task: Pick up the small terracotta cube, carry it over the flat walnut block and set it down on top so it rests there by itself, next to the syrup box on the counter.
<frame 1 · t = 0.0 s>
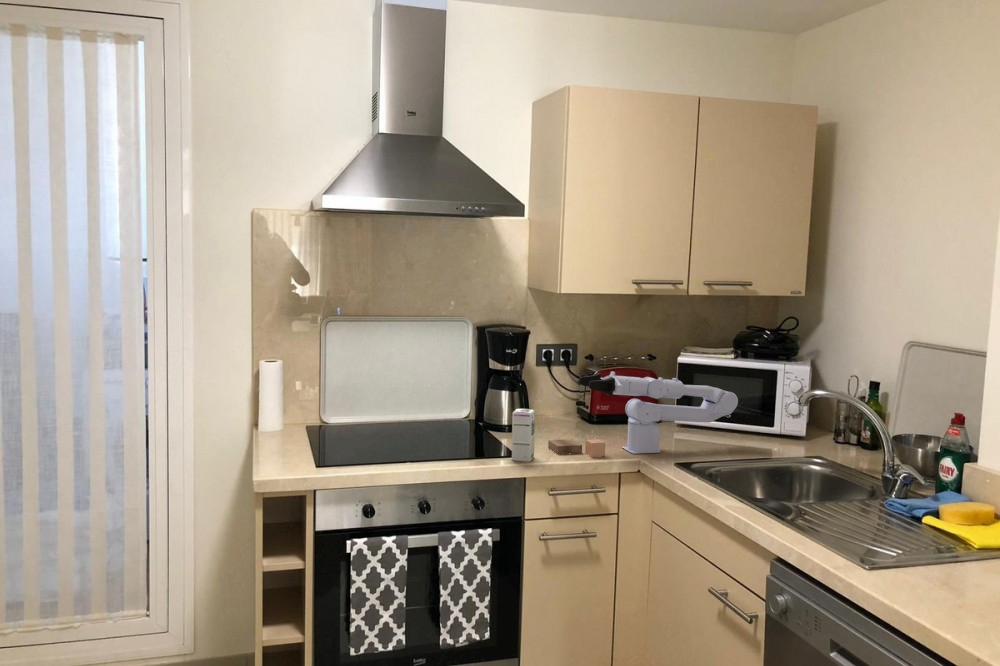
hand: (584, 382, 251), 22 cm above the worktop, tool horizontal, fingers open, 7 cm apart
syrup box: (522, 459, 245), on the worktop
walnut block: (564, 452, 256), on the worktop
cube: (594, 455, 251), on the worktop
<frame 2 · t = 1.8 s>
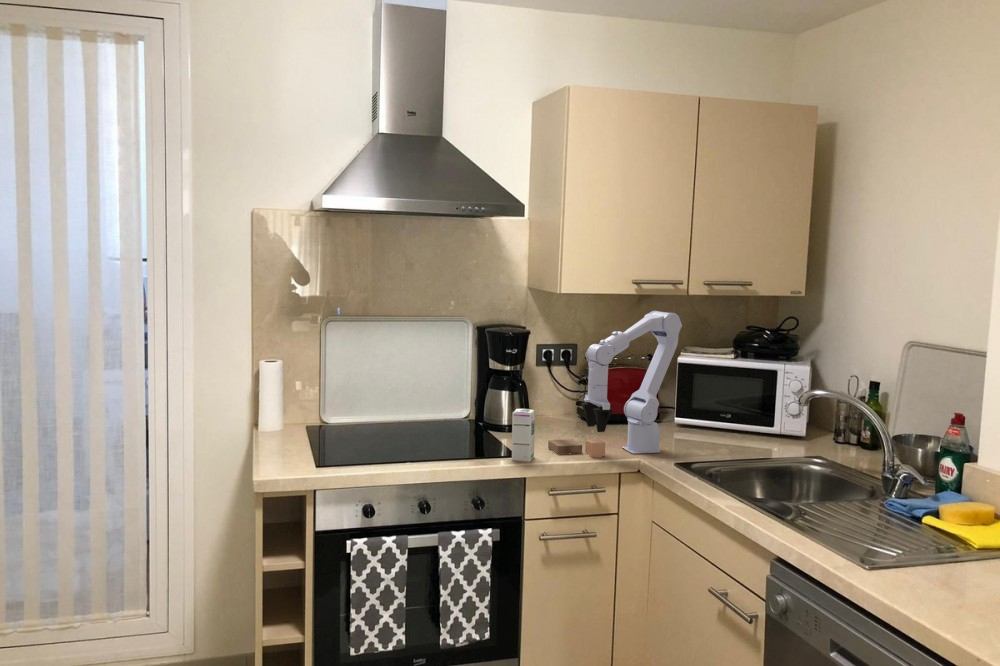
hand: (595, 429, 251), 8 cm above the worktop, tool pointing down, fingers open, 7 cm apart
nothing on the worktop moved.
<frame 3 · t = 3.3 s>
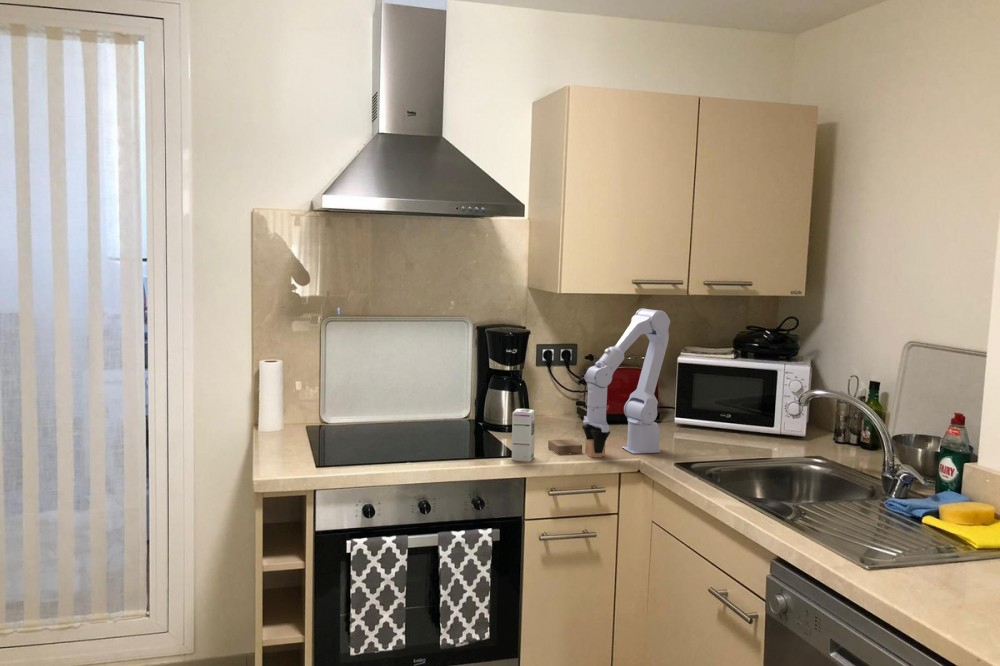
hand: (595, 450, 251), 1 cm above the worktop, tool pointing down, fingers closed on cube, 4 cm apart
cube: (594, 455, 251), on the worktop, touching gripper
everything else where it was.
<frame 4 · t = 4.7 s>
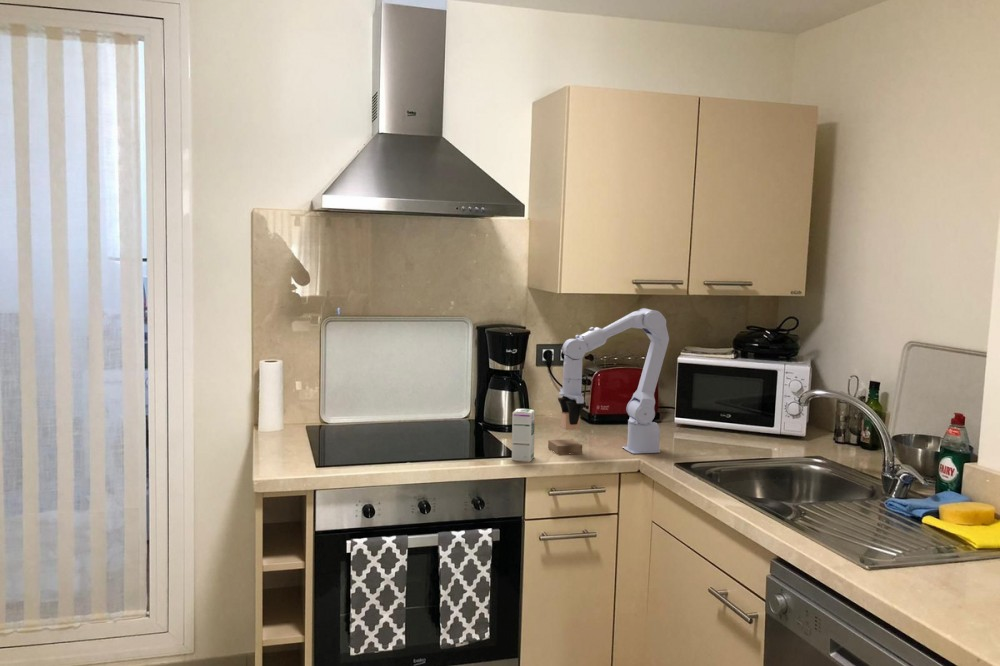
hand: (570, 422, 254), 9 cm above the worktop, tool pointing down, fingers closed on cube, 4 cm apart
cube: (569, 428, 254), point 7 cm above the worktop, touching gripper
everything else where it was.
when the fingers open (6 cm above the worktop, at t = 6.3 s): cube drops 1 cm, point 3 cm above the worktop.
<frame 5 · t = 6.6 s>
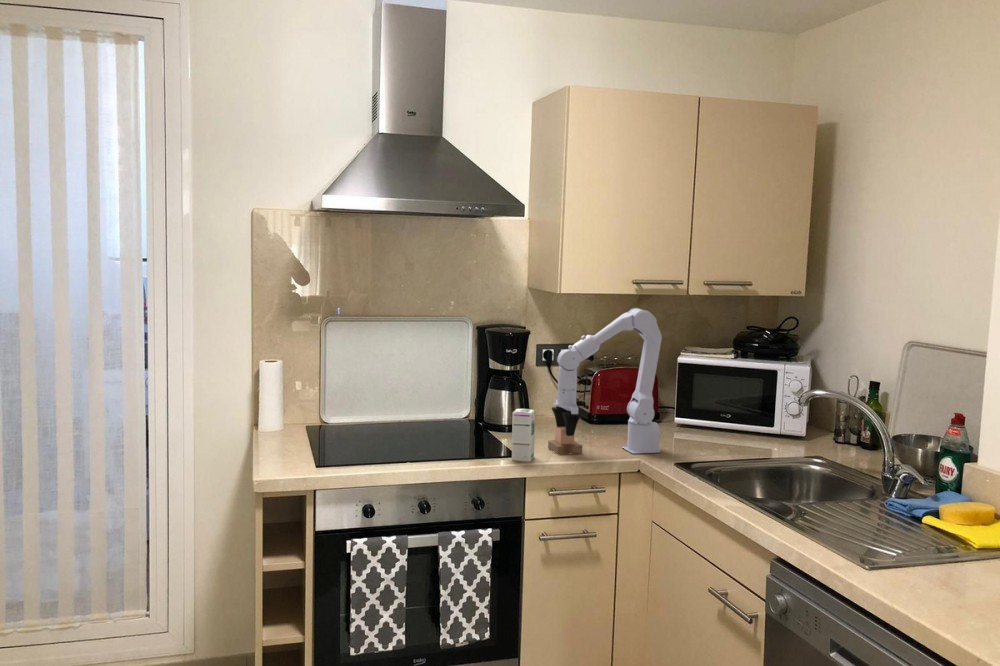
hand: (565, 432, 256), 6 cm above the worktop, tool pointing down, fingers open, 7 cm apart
cube: (564, 442, 256), point 3 cm above the worktop
everything else where it was.
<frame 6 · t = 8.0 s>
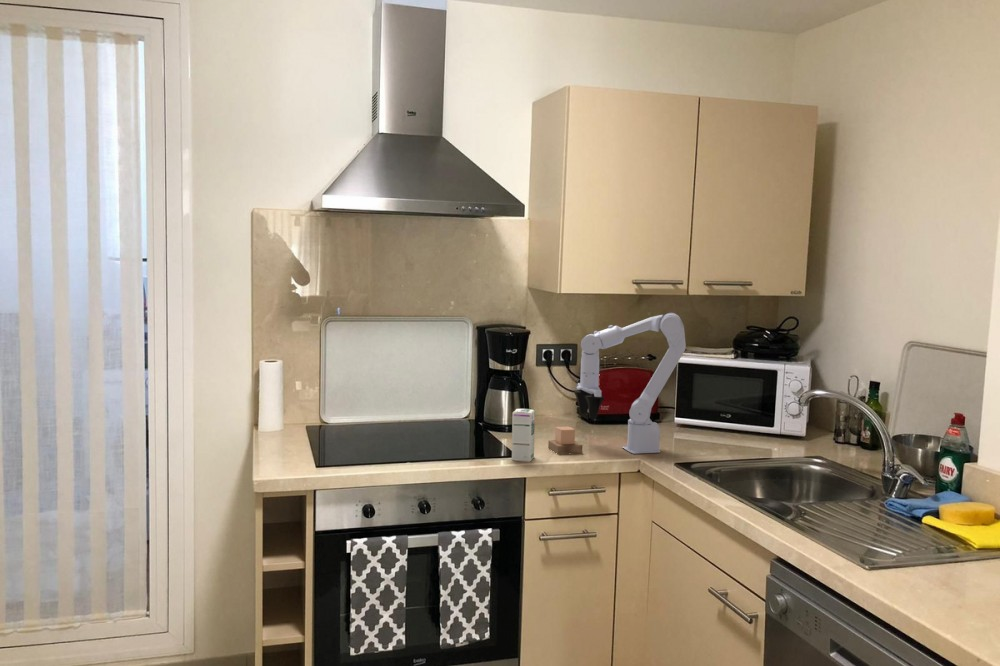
hand: (588, 415, 261), 10 cm above the worktop, tool pointing down, fingers open, 7 cm apart
nothing on the worktop moved.
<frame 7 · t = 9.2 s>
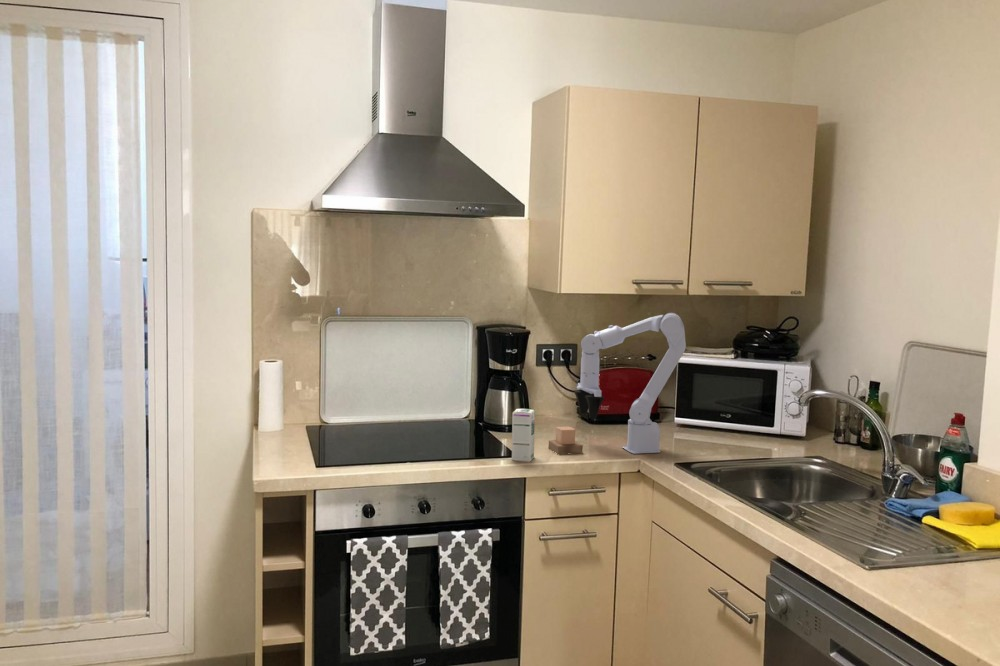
hand: (588, 415, 262), 10 cm above the worktop, tool pointing down, fingers open, 7 cm apart
nothing on the worktop moved.
at the end: cube 0.1 cm off-centre on the walnut block, point 3.0 cm above the walnut block's base; cube tilted 0°; the gripper is holding nothing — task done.
